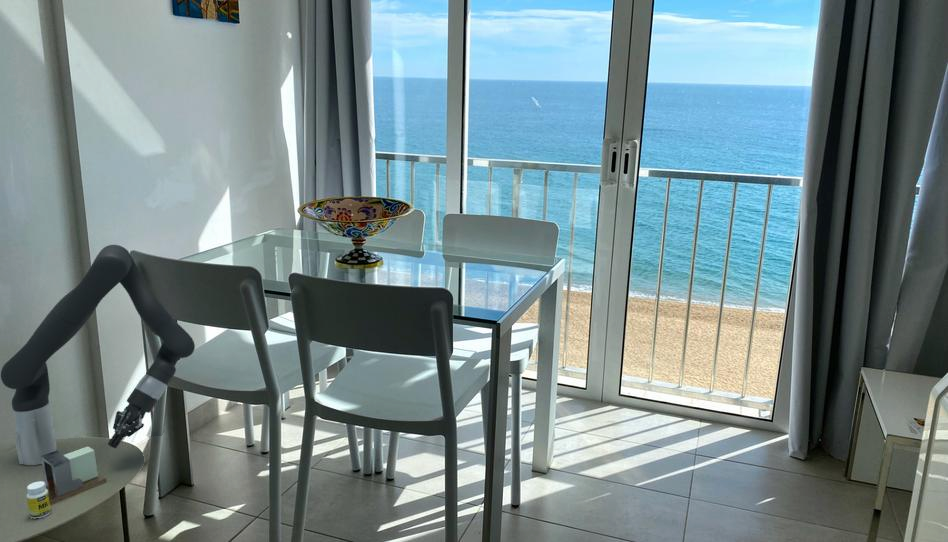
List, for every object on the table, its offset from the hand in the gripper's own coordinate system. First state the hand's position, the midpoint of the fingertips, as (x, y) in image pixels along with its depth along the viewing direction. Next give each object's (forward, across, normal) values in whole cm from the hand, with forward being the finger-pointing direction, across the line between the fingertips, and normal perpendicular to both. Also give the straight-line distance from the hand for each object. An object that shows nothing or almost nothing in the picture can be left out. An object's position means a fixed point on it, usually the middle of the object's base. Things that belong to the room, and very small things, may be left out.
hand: (111, 446), depth 203 cm
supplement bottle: (+22, +7, -10) cm, 25 cm away
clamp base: (+14, 0, -3) cm, 15 cm away
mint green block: (+11, 0, -2) cm, 11 cm away
